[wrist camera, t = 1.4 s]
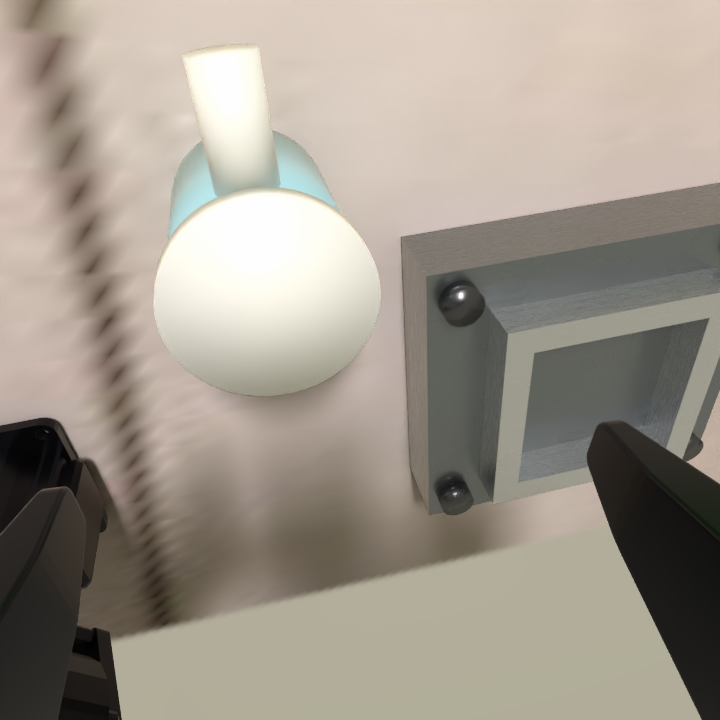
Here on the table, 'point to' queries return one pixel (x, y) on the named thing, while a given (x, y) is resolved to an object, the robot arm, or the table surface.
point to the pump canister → (257, 247)
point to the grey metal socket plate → (558, 342)
